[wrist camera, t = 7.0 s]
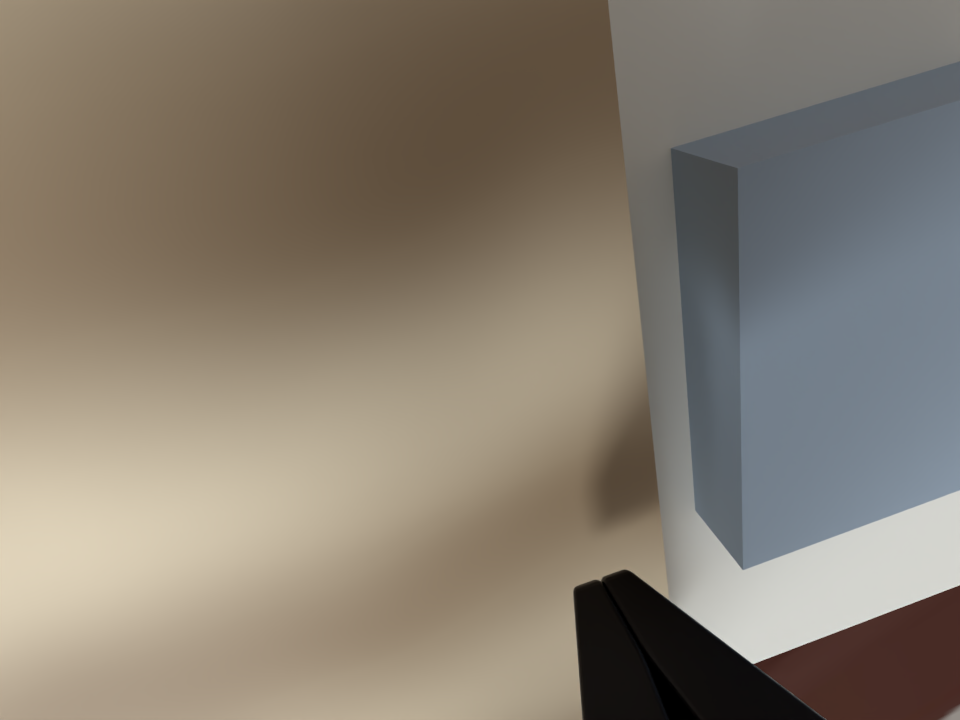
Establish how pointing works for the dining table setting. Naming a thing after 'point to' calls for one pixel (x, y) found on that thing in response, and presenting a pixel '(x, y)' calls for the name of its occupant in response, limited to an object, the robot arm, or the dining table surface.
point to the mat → (647, 156)
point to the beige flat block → (313, 358)
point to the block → (823, 314)
